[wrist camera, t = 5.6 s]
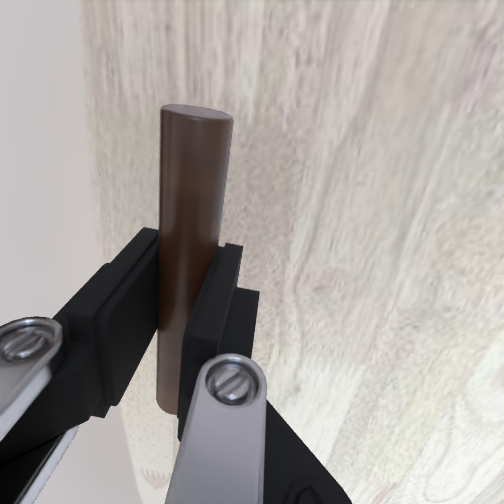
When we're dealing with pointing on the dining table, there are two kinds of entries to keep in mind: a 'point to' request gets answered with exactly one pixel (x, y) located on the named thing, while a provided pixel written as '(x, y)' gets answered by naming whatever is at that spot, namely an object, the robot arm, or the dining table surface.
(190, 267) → the stick
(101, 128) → the dining table surface
